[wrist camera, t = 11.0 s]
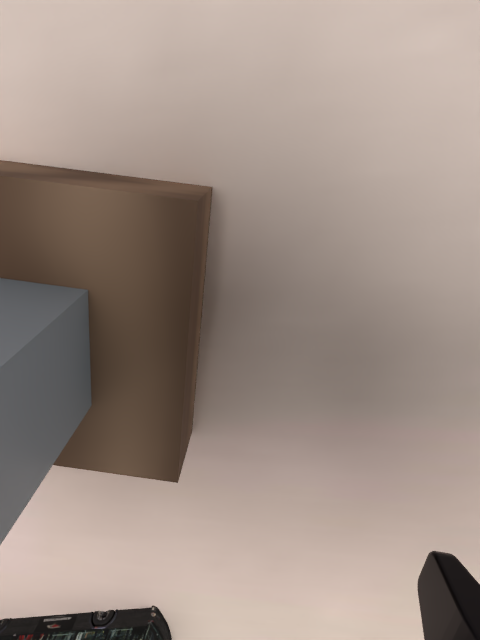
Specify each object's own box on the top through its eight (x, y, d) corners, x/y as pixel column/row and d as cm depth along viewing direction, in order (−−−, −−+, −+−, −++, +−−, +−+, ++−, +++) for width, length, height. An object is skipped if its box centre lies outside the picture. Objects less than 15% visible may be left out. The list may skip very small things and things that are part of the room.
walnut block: (213, 185, 18) (197, 200, 14) (193, 425, 23) (177, 482, 19) (-76, 149, 18) (-164, 154, 14) (-34, 393, 23) (-93, 444, 19)
